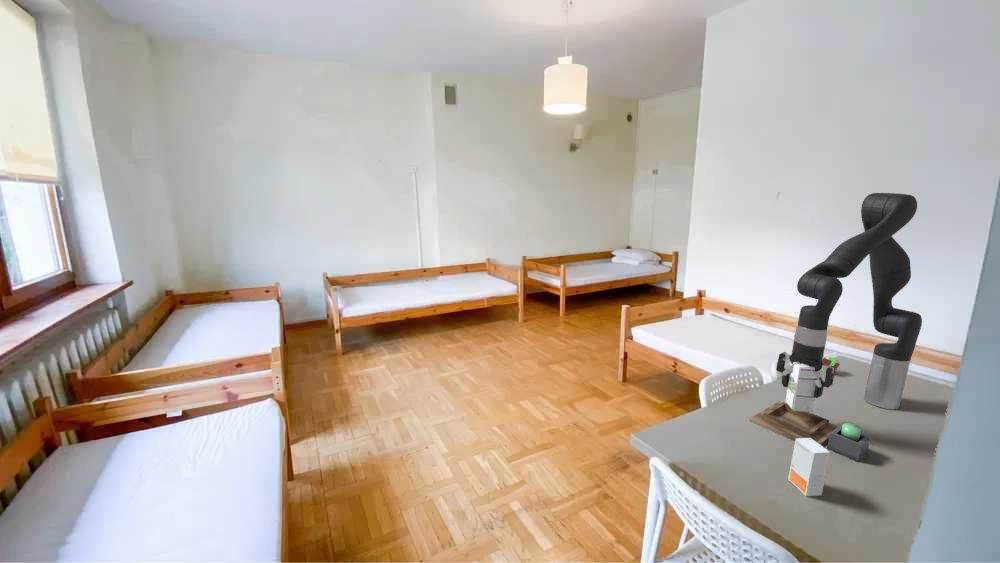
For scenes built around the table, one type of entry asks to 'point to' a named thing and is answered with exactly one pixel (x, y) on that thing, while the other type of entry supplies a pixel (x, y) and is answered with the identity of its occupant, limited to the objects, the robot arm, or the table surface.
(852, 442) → the button housing
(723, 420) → the table surface
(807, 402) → the syrup box
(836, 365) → the geometric puzzle
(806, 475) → the skincare box
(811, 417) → the brown wooden square tray
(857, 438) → the button
